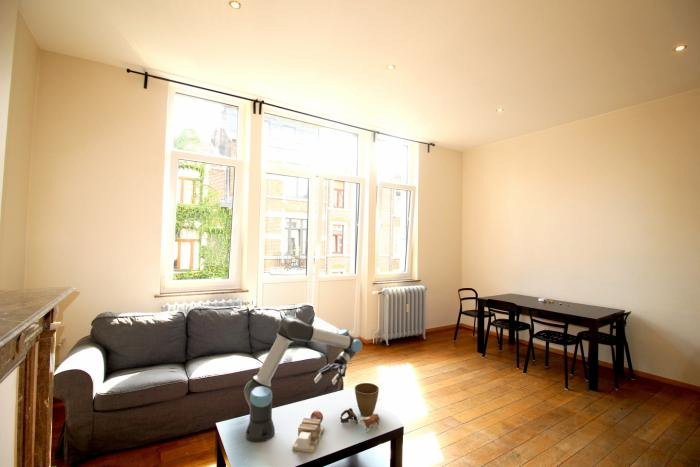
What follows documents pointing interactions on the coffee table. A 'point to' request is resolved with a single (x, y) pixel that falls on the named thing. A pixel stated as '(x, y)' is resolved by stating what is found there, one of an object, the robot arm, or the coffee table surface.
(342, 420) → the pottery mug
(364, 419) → the bull figurine
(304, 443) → the block
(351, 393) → the coffee table surface
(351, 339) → the robot arm
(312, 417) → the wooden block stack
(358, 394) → the plant pot
